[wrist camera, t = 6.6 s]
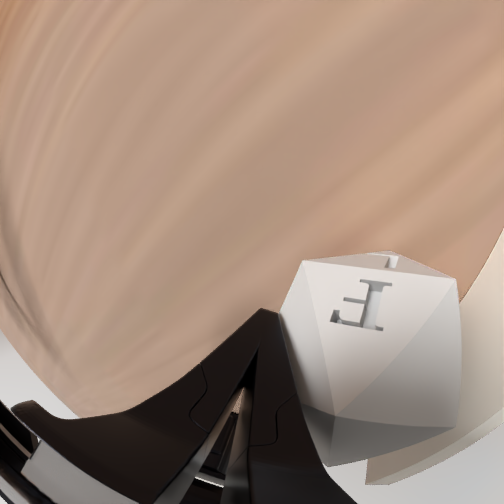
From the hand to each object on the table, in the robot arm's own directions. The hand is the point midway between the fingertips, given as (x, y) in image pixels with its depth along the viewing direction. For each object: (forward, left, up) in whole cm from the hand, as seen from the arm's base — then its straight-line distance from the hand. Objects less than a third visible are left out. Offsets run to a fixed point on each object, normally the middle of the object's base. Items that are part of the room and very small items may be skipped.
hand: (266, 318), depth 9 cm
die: (-1, -4, -4) cm, 6 cm away
